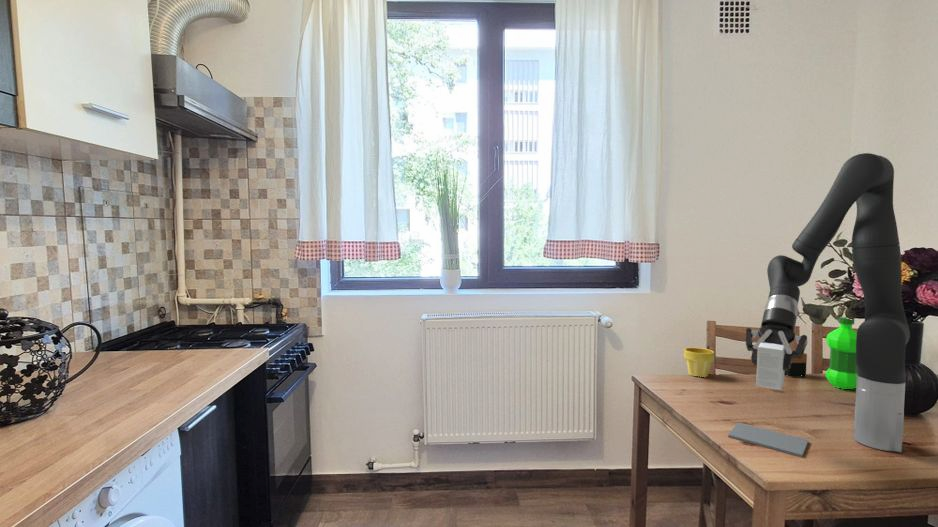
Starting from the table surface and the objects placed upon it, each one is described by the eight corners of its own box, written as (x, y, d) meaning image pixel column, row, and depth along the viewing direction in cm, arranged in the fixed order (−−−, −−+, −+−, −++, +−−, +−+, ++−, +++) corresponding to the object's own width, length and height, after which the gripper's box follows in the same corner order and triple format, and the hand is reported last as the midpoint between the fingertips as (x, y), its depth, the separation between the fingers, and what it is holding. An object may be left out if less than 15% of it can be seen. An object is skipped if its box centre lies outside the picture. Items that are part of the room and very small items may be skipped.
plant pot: (702, 370, 179) (702, 346, 178) (719, 378, 169) (720, 353, 168) (677, 371, 178) (678, 347, 177) (694, 379, 168) (694, 354, 167)
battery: (806, 377, 171) (807, 351, 170) (789, 377, 170) (790, 351, 170) (797, 373, 175) (798, 348, 175) (780, 374, 175) (782, 348, 174)
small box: (759, 378, 122) (761, 340, 121) (784, 382, 119) (786, 343, 118) (755, 386, 116) (756, 346, 115) (781, 390, 112) (783, 349, 112)
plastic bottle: (826, 381, 166) (829, 314, 165) (863, 387, 159) (867, 318, 157) (821, 387, 159) (825, 318, 158) (861, 394, 152) (865, 322, 150)
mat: (808, 442, 116) (808, 439, 116) (802, 457, 109) (802, 454, 108) (738, 424, 127) (738, 422, 127) (728, 436, 120) (728, 434, 120)
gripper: (748, 303, 126) (735, 353, 118) (811, 309, 116) (803, 363, 109) (751, 319, 130) (740, 368, 123) (813, 326, 121) (805, 380, 113)
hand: (769, 366), depth 116 cm, fingers closed on small box, 6 cm apart
